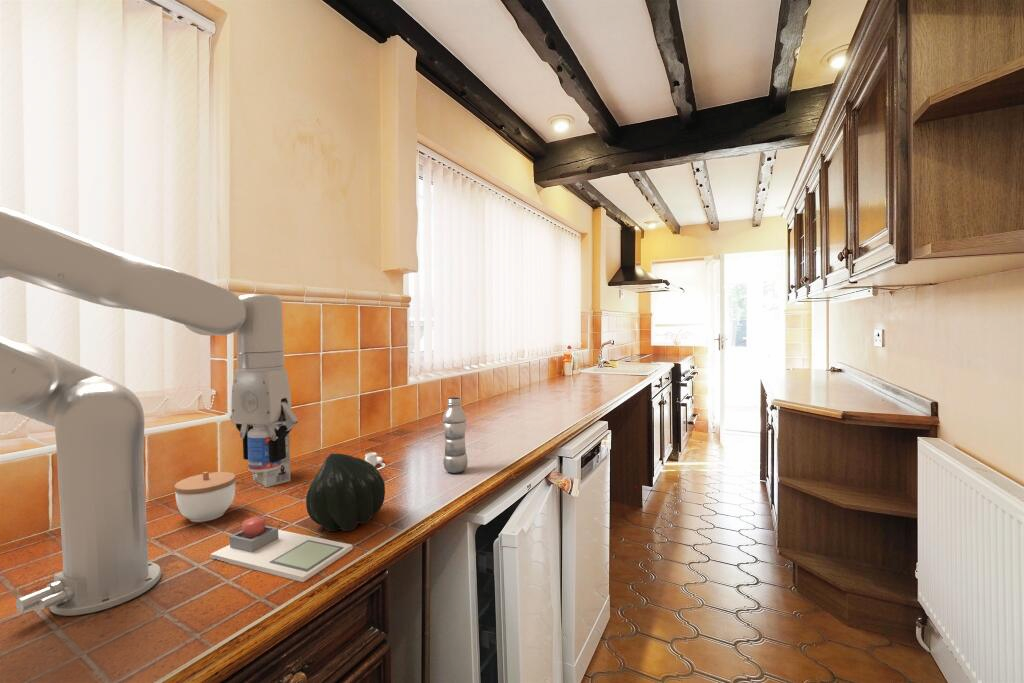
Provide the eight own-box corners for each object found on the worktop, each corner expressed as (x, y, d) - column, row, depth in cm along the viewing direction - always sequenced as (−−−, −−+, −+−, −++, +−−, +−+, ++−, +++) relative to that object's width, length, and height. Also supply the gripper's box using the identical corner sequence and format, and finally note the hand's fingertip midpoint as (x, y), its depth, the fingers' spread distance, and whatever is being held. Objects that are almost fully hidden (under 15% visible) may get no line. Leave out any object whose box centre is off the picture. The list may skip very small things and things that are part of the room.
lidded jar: (182, 532, 88) (181, 484, 88) (170, 517, 95) (168, 473, 95) (244, 515, 96) (242, 471, 96) (228, 502, 103) (226, 461, 103)
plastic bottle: (472, 470, 124) (471, 397, 123) (457, 477, 118) (455, 400, 117) (454, 466, 127) (453, 395, 126) (438, 473, 121) (436, 399, 121)
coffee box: (251, 480, 118) (249, 419, 117) (277, 474, 123) (275, 415, 122) (266, 488, 112) (263, 423, 111) (292, 481, 117) (290, 419, 116)
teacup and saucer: (376, 461, 134) (375, 448, 134) (393, 466, 130) (393, 452, 130) (350, 469, 127) (349, 455, 127) (367, 474, 123) (367, 459, 122)
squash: (408, 494, 92) (373, 433, 97) (344, 524, 80) (308, 453, 84) (376, 526, 98) (345, 468, 103) (313, 559, 86) (281, 491, 91)
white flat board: (303, 582, 70) (302, 564, 70) (210, 558, 78) (209, 542, 78) (352, 549, 80) (352, 533, 80) (266, 531, 88) (265, 517, 88)
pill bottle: (268, 473, 81) (266, 419, 81) (241, 472, 82) (239, 419, 82) (287, 464, 87) (286, 413, 86) (262, 463, 87) (260, 413, 87)
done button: (252, 538, 79) (252, 526, 79) (237, 534, 81) (237, 523, 80) (270, 529, 83) (269, 518, 82) (255, 526, 84) (255, 515, 84)
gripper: (207, 362, 83) (211, 461, 83) (281, 364, 77) (285, 469, 78) (243, 359, 90) (247, 450, 90) (313, 360, 84) (316, 456, 85)
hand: (264, 457), depth 84 cm, fingers closed on pill bottle, 5 cm apart
